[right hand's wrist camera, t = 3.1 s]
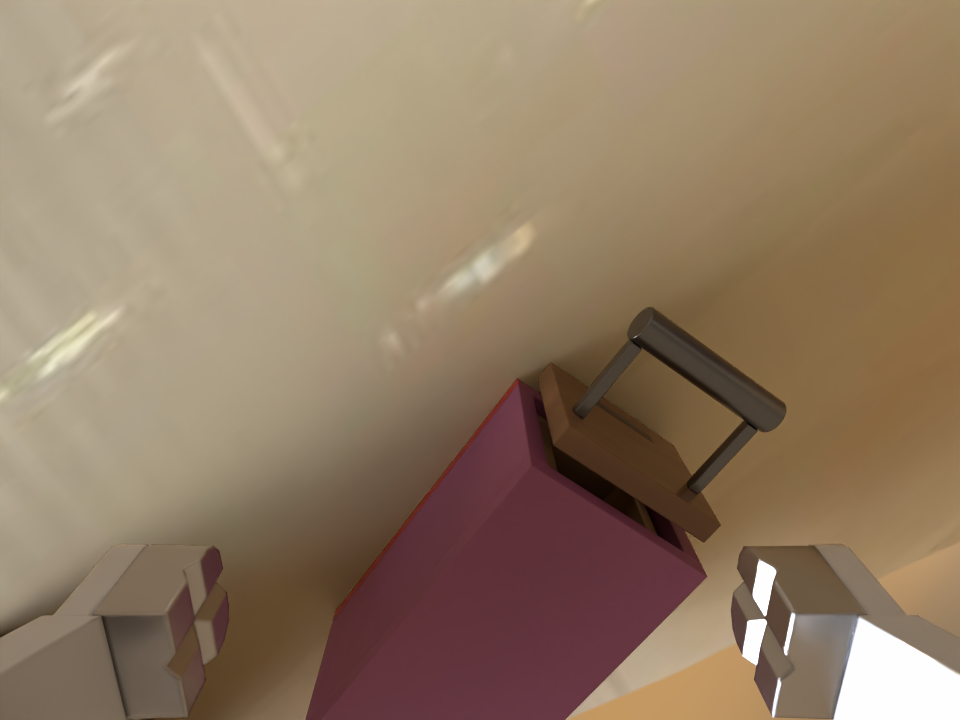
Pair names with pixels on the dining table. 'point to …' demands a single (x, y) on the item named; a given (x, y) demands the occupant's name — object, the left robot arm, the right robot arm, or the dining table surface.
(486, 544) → the cabinet
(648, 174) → the dining table surface
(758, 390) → the drawer
